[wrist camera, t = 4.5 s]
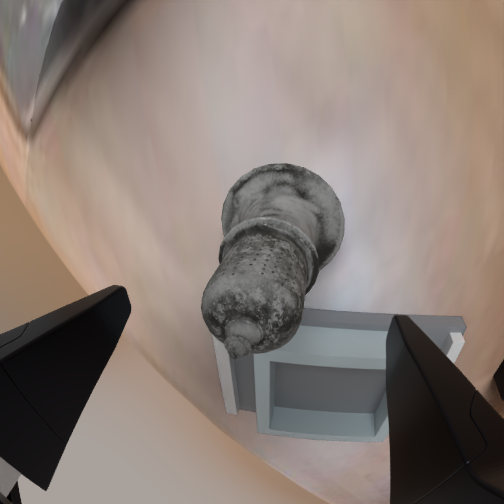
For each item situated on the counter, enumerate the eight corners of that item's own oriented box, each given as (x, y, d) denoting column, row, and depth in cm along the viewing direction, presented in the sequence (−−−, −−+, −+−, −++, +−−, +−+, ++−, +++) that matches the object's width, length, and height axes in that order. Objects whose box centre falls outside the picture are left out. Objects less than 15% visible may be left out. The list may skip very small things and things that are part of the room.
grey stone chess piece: (241, 149, 16) (104, 225, 6) (346, 160, 15) (396, 265, 5) (238, 243, 19) (146, 396, 9) (332, 256, 18) (329, 435, 8)
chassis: (461, 316, 17) (477, 351, 14) (413, 411, 23) (416, 442, 20) (216, 299, 21) (197, 333, 18) (230, 397, 27) (219, 428, 24)
